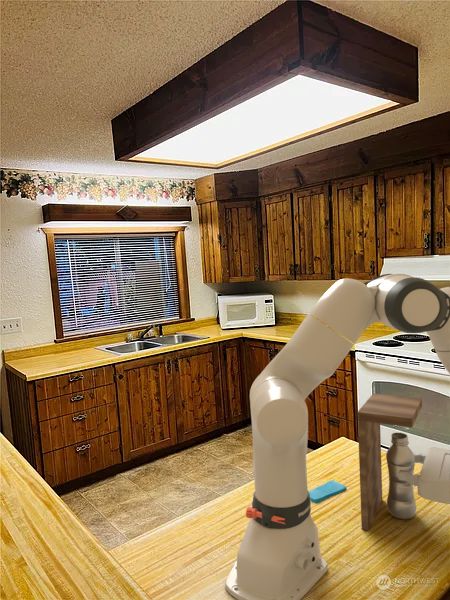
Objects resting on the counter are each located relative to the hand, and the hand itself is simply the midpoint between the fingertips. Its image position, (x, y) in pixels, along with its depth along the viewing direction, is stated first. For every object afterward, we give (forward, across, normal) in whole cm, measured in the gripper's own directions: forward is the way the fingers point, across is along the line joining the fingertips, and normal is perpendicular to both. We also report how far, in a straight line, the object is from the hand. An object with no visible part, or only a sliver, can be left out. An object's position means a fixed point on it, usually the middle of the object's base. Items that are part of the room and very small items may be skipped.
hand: (402, 465), depth 108 cm
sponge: (+21, -3, +13) cm, 25 cm away
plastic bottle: (0, 0, +13) cm, 13 cm away
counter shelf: (+2, +2, +13) cm, 13 cm away
